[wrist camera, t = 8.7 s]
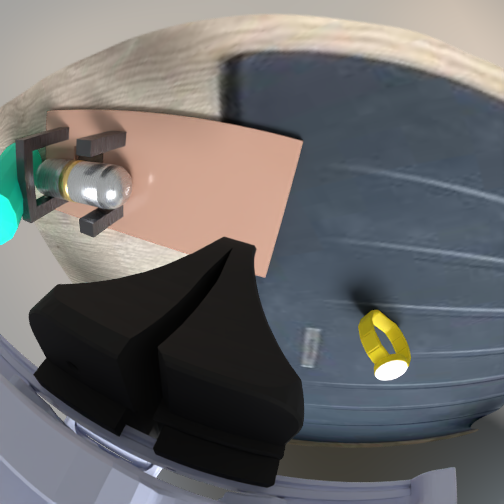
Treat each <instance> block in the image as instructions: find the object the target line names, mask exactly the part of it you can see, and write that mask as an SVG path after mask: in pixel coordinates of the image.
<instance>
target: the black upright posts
mask: <svg viewBox="0 0 504 504" xmlns="http://www.w3.org/2000/svg"><path fill="white" fill-rule="evenodd" d="M126 133H127V132H124V131H114V130H111V131H107V132H102V133H98V134H94V135H90V136H86V137H82V138H79V139H76V155H79V156H86V157H93V156H96V155H99V154H102V153H105V152H108V151H111V150H114V149H117V148H121V147H124V146H125V145H126ZM65 140H69V127H58V128H54V129H50V130H46V131H43V132H39V133H36V134H32V135H29V136H26V137H22V138H19V139H16V140H15V143H16V167H17V179H18V183H19V186H20V190H21V193H22V196H23V215H22V217H23V220H25V221H27V222H30V223H32V222H34V221H36V220H37V219H39V218H41V217H42V216H44V215H46V214H47V213H49V212H51V211H53V210H54V209H56V208H58V207H60V206H61V205H63V204H65V203H67V202H69V201H67V200H64V199H60V198H56V197H51V196H47V195H44V196H42V197H40V198H38V199H36V195H35V185H34V173H33V151H34V150H37V149H40V148H43V147H46V146H49V145H52V144H55V143H59V142H62V141H65ZM122 217H123V205H122V206H121V207H118V208H116V209H110V210H109V209H103V208H96V209H95V210H93V211H91V212H90V213H88V214H86V215H85V216H83V217H82V218H80V219H79V224H80V232H81V233H84V234H86V235H89V236H91V237H95V236H96V235H98V234H99V233H101V232H102V231H103V230H105V229H106V228H108V227H109V226H110V225H112V224H113V223H115V222H116V221H118V220H119V219H121V218H122Z"/></svg>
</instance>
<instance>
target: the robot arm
mask: <svg viewBox="0 0 504 504" xmlns="http://www.w3.org/2000/svg"><path fill="white" fill-rule="evenodd" d="M256 250H257V249H256V247H255V245H252V244H248V243H245V242H241V241H238V240H235V239H231V238H228V237H222V238H220V239H218V240H216V241H214V242H212V243H211V244H209V245H207V246H205V247H203V248H201V249H199V250H198V251H196V252H194V253H192V254H190V255H187V256H185V257H183V258H181V259H179V260H176V261H174V262H172V263H169V264H167V265H164V266H162V267H159V268H156V269H153V270H150V271H146V272H143V273H139V274H135V275H131V276H127V277H123V278H118V279H112V280H107V281H99V282H91V283H79V284H58V285H56V286H55V287H54V288H53V289H52V290H51V291H50V292H49V293H48V294H47V295H46V296H44V298H42V299H41V300H40V301H39V302H38V303H37V304H36V305H35V306H34V307H33V308H32V309H31V310H30V312H29V322H30V326H31V329H32V331H33V333H34V335H35V337H36V339H37V341H38V343H39V345H40V347H41V349H42V350H43V352H44V354H45V356H46V359H45V360H44V362H43V363H42V364H41V365H40V367H39V368H38V367H36V366H35V365H34V364H33V363H31V362H30V361H29V360H28V359H27V358H26V357H24V356H23V355H22V354H21V353H20V352H19V351H18V350H17V349H15V348H14V347H13V346H12V345H11V344H10V343H9V342H8V341H7V340H6V339H5V338H4V337H3V336H2V335H1V334H0V504H457V487H456V486H457V485H456V470H455V468H454V467H451V468H445V469H440V470H433V471H429V472H426V473H423V474H421V475H419V476H417V477H415V478H413V479H412V480H402V481H389V482H332V481H319V480H309V479H299V478H292V477H286V476H279V475H277V470H278V466H279V460H280V459H282V458H283V456H284V450H285V445H286V444H287V443H288V442H289V441H290V440H291V439H292V438H293V437H294V436H295V435H296V434H297V433H298V432H299V431H300V430H301V428H302V426H303V421H304V398H303V389H302V382H301V379H300V378H299V376H298V375H297V374H296V372H295V371H294V369H293V368H292V367H291V365H290V364H289V362H288V361H287V359H286V357H285V356H284V354H283V352H282V351H281V349H280V347H279V345H278V343H277V341H276V339H275V337H274V335H273V333H272V331H271V329H270V327H269V325H268V322H267V320H266V317H265V314H264V311H263V308H262V305H261V302H260V298H259V294H258V289H257V284H256V278H255V268H254V258H255V254H256ZM36 392H37V393H38V394H39V395H40V396H41V397H43V398H44V399H45V400H47V401H48V402H49V403H50V404H52V405H53V406H54V407H56V408H57V409H58V410H60V411H61V412H62V413H64V414H65V415H67V417H66V419H65V421H64V422H63V421H62V420H61V419H60V418H59V417H58V416H57V415H56V413H55V412H54V411H53V409H52V408H51V407H50V405H48V404H47V403H46V402H45V401H44V400H43V399H42V398H41V397H40V396H39V395H38V394H37V393H36ZM87 435H88V436H89V437H91V438H92V439H94V440H95V441H97V442H98V443H100V444H102V445H103V446H105V447H106V448H108V449H110V450H111V451H113V452H115V453H117V454H118V455H120V456H122V457H124V458H125V459H127V460H129V461H131V462H129V461H127V460H125V459H123V458H122V457H120V456H118V455H116V454H115V453H113V452H111V451H109V450H108V449H106V448H104V447H103V446H101V445H100V444H98V443H96V442H95V441H94V440H92V439H90V438H89V437H88V436H87ZM132 462H133V463H132ZM162 469H166V470H169V471H171V472H174V473H176V474H179V475H182V476H185V477H187V478H190V479H193V480H196V481H199V482H203V483H206V484H209V485H213V486H216V487H220V488H223V489H227V490H231V491H236V492H240V493H235V492H226V493H225V494H224V497H222V498H219V499H218V501H217V500H214V499H210V498H207V497H204V496H201V495H198V494H195V493H192V492H190V491H187V490H184V489H182V488H179V487H177V486H174V485H172V484H169V483H167V482H165V481H162V480H160V479H158V478H156V477H157V475H158V474H159V472H160V471H161V470H162ZM242 493H244V494H242Z"/></svg>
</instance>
